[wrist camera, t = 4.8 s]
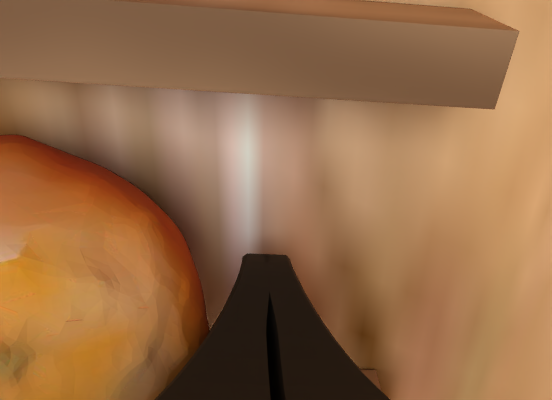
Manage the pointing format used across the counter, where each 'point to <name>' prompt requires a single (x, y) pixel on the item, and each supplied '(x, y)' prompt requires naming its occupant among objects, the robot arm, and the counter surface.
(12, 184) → the fruit
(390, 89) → the chute
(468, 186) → the counter surface
